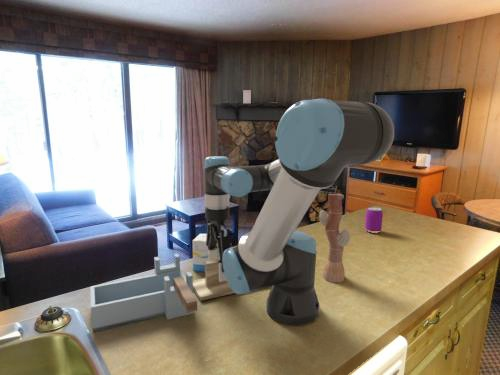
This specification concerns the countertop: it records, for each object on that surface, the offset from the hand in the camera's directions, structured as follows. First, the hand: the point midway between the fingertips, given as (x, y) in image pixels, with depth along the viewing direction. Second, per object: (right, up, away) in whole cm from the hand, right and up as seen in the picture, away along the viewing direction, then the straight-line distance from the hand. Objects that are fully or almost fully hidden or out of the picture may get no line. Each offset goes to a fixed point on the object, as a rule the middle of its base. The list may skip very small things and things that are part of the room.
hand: (218, 274), depth 106 cm
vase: (+39, -4, +10) cm, 40 cm away
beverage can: (+72, +6, +58) cm, 93 cm away
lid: (+4, -4, +3) cm, 7 cm away
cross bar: (-7, -1, -21) cm, 22 cm away
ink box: (-6, -2, +17) cm, 18 cm away
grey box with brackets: (-21, -7, -11) cm, 25 cm away
